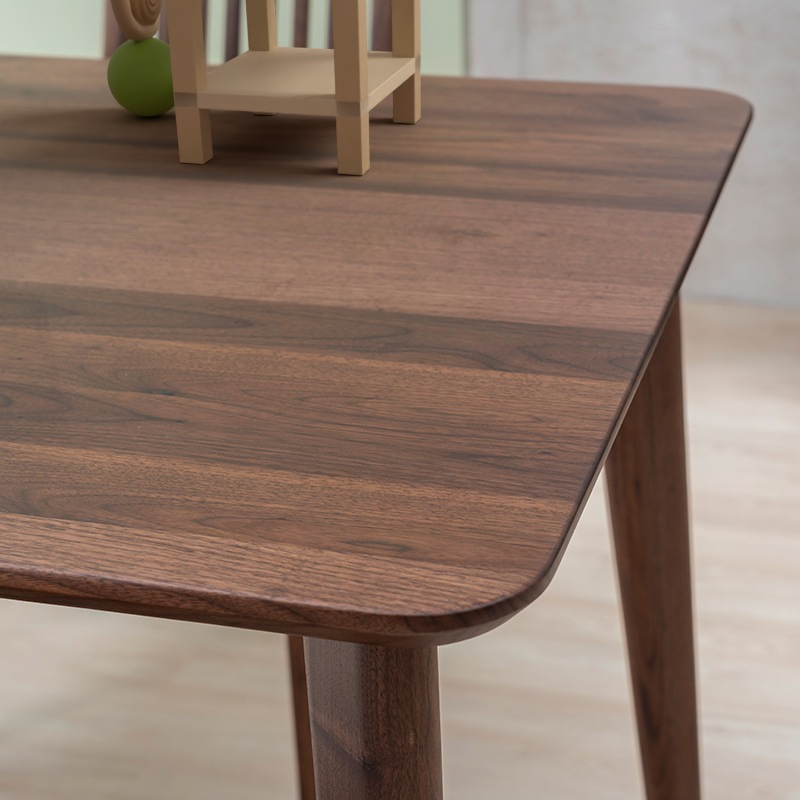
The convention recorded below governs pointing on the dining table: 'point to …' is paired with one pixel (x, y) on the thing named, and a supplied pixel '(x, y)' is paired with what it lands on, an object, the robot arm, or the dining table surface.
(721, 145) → the dining table surface
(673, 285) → the dining table surface
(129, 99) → the snail figurine
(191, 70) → the rack
